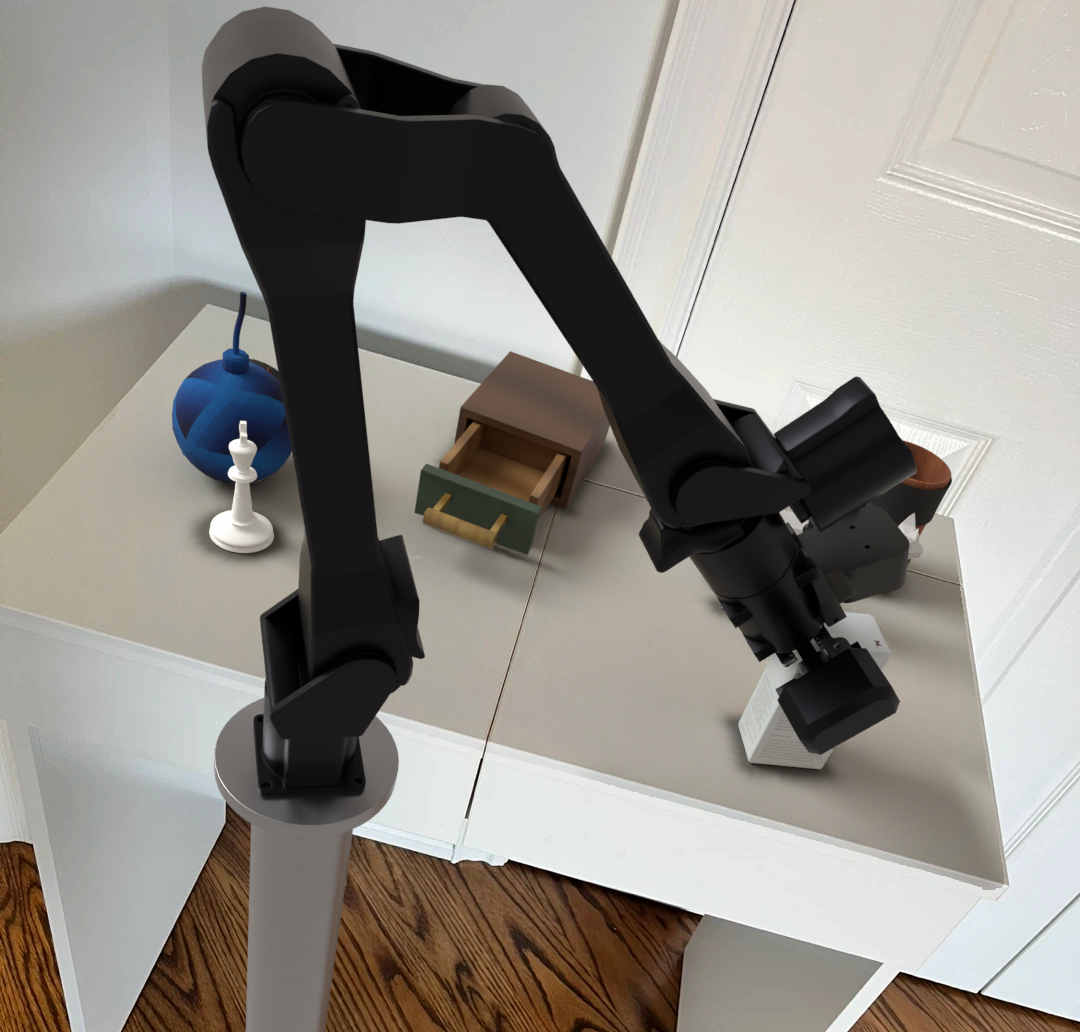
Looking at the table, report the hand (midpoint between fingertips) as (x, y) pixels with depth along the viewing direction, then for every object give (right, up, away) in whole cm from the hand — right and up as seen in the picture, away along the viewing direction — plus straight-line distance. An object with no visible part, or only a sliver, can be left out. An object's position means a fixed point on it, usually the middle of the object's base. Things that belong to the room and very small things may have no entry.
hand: (828, 685), depth 73 cm
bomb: (-47, +19, +14) cm, 52 cm away
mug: (+8, +13, +25) cm, 29 cm away
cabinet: (-22, +23, +26) cm, 41 cm away
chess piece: (-45, +12, +8) cm, 47 cm away
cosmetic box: (-3, -5, +4) cm, 7 cm away
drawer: (-25, +16, +16) cm, 34 cm away
